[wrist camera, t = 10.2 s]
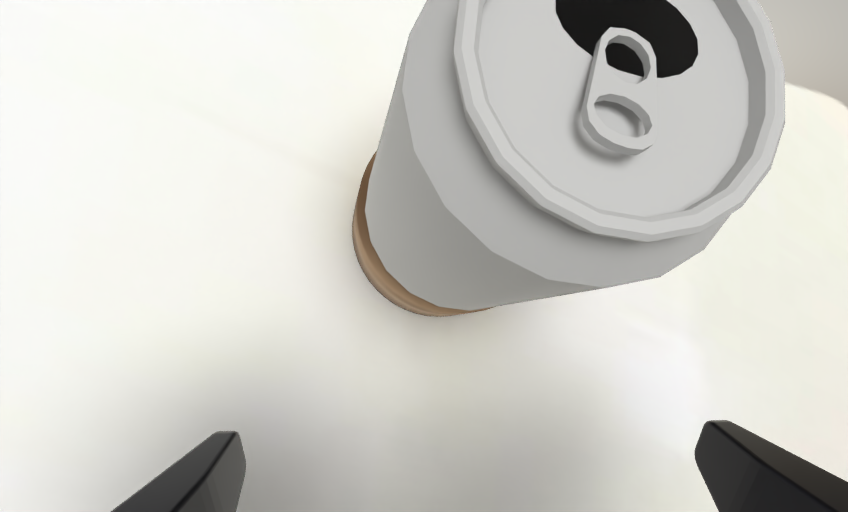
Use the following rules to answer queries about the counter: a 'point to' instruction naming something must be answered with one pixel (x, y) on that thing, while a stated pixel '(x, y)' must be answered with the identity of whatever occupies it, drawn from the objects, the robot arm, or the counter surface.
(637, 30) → the can
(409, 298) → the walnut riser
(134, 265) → the counter surface
